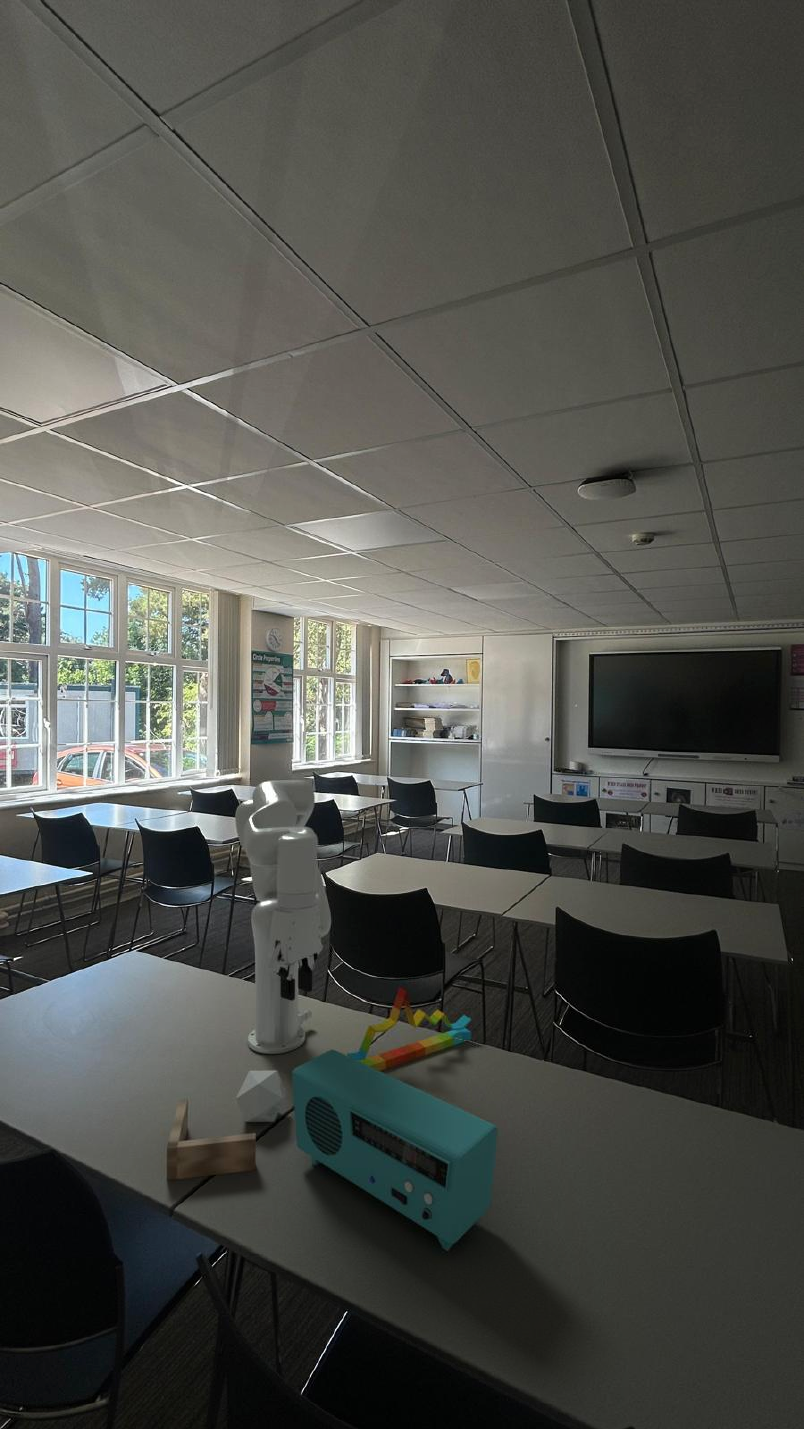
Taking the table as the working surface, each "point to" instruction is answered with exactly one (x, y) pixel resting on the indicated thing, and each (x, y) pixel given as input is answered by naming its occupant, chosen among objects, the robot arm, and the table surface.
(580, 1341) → the table surface
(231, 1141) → the bracket
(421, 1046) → the chart
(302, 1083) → the radio
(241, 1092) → the die
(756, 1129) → the table surface
